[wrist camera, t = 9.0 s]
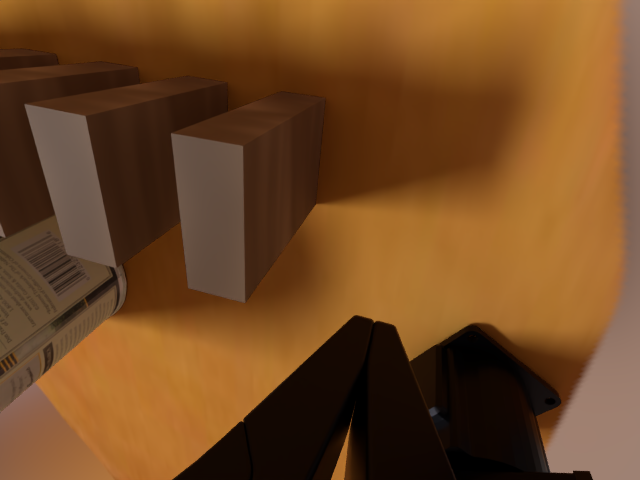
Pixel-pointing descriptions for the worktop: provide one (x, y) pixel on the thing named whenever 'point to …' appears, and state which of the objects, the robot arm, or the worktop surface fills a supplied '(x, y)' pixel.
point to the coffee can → (47, 303)
